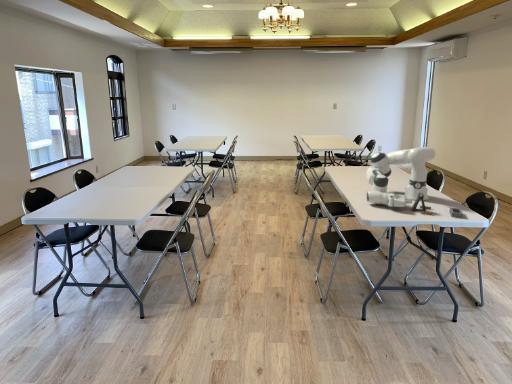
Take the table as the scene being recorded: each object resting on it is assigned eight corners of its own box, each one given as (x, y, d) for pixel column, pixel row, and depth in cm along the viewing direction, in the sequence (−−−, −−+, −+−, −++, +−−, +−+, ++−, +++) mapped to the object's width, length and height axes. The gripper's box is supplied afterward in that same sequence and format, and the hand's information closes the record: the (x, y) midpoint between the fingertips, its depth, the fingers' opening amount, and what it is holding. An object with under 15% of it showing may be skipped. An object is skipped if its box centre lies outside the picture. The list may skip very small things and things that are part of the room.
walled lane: (419, 207, 267) (420, 205, 267) (430, 208, 265) (431, 206, 265) (420, 213, 253) (421, 211, 252) (432, 215, 251) (432, 213, 250)
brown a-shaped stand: (425, 210, 262) (427, 193, 259) (426, 212, 256) (429, 195, 253) (411, 208, 265) (413, 191, 262) (412, 210, 259) (414, 193, 256)
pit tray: (449, 211, 260) (450, 207, 259) (459, 213, 257) (460, 208, 257) (451, 216, 249) (452, 212, 248) (462, 218, 247) (463, 213, 246)
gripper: (390, 199, 275) (411, 202, 270) (389, 207, 256) (411, 210, 252) (391, 191, 273) (412, 193, 269) (390, 198, 255) (413, 201, 250)
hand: (412, 201), depth 260 cm, fingers closed
